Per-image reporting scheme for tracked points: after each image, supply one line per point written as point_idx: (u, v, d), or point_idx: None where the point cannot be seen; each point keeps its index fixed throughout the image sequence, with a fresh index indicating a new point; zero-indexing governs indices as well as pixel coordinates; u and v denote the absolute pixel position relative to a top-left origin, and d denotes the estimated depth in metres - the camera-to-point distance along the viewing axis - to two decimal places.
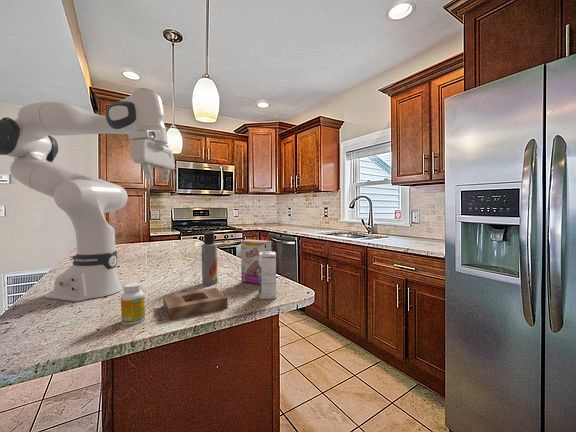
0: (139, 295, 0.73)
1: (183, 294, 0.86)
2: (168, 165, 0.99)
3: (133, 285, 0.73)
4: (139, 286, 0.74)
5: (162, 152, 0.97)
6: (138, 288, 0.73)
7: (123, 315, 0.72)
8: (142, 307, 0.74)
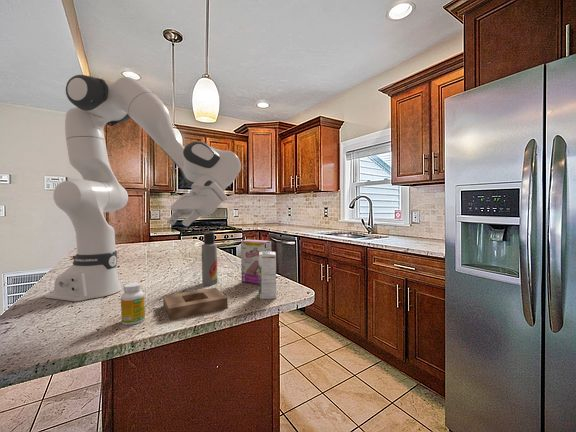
0: (139, 295, 0.73)
1: (183, 294, 0.86)
2: None
3: (133, 285, 0.73)
4: (139, 286, 0.74)
5: None
6: (138, 288, 0.73)
7: (123, 315, 0.72)
8: (142, 307, 0.74)
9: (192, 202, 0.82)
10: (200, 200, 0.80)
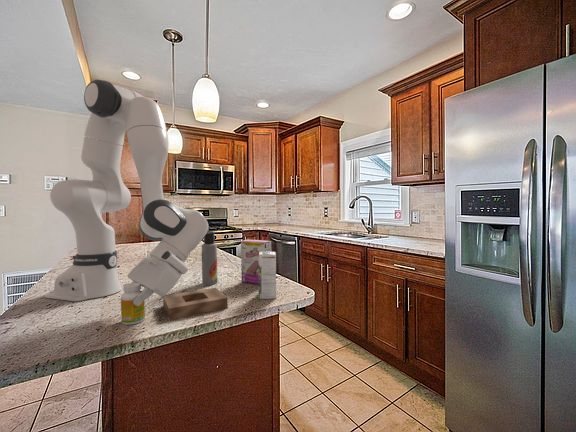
0: None
1: (183, 294, 0.86)
2: None
3: (133, 285, 0.73)
4: (139, 286, 0.74)
5: None
6: (138, 288, 0.73)
7: (123, 315, 0.72)
8: (142, 307, 0.74)
9: (148, 276, 0.74)
10: (155, 277, 0.72)
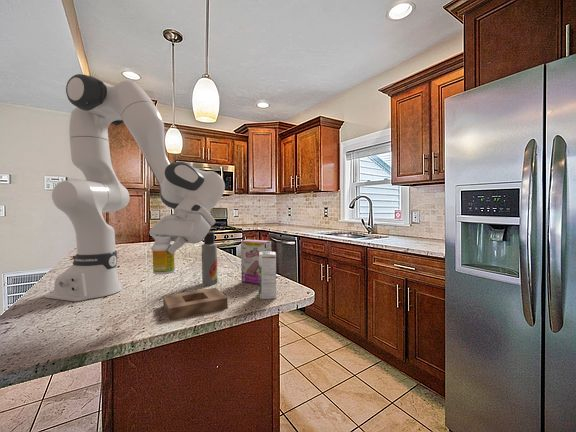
0: None
1: (183, 294, 0.86)
2: None
3: (164, 237, 0.76)
4: (170, 238, 0.77)
5: None
6: (169, 240, 0.77)
7: (156, 265, 0.74)
8: (173, 258, 0.77)
9: (179, 228, 0.78)
10: (188, 226, 0.76)
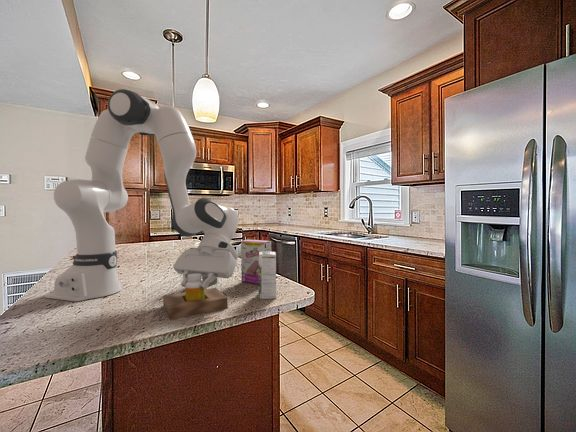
0: None
1: (183, 294, 0.86)
2: None
3: (197, 275, 0.83)
4: (201, 275, 0.84)
5: None
6: (201, 277, 0.84)
7: None
8: (204, 293, 0.84)
9: (208, 264, 0.85)
10: (218, 263, 0.84)
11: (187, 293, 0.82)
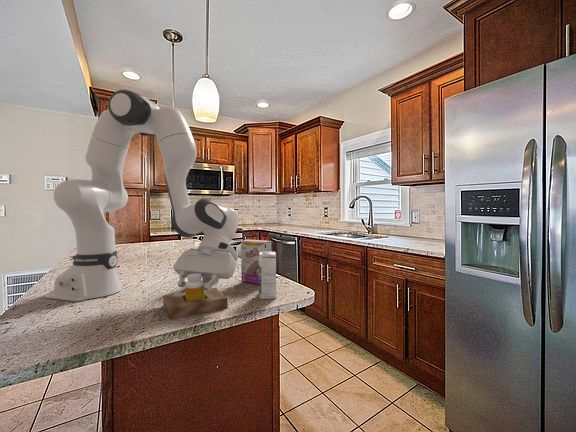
0: (203, 282, 0.84)
1: (183, 294, 0.86)
2: None
3: (197, 275, 0.83)
4: (201, 275, 0.84)
5: None
6: (201, 277, 0.84)
7: None
8: (204, 293, 0.84)
9: (208, 265, 0.85)
10: (218, 264, 0.84)
11: (187, 293, 0.82)
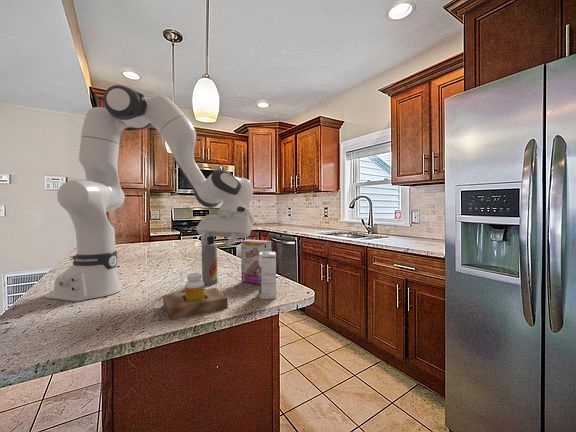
0: (203, 282, 0.84)
1: (183, 294, 0.86)
2: None
3: (197, 275, 0.83)
4: (201, 275, 0.84)
5: None
6: (201, 277, 0.84)
7: None
8: (204, 293, 0.84)
9: (227, 225, 0.96)
10: (237, 224, 0.95)
11: (187, 293, 0.81)
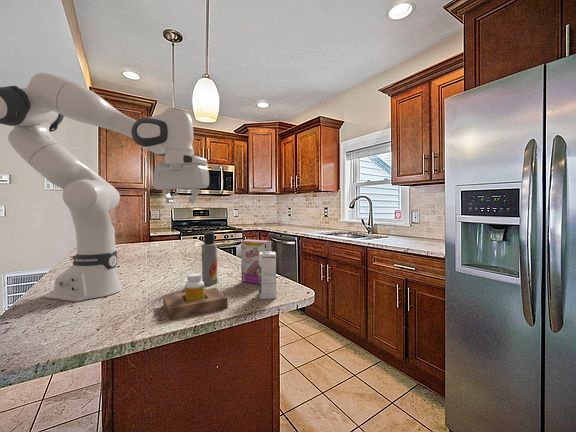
0: (203, 282, 0.84)
1: (183, 294, 0.86)
2: None
3: (197, 275, 0.83)
4: (201, 275, 0.84)
5: None
6: (201, 277, 0.84)
7: None
8: (204, 293, 0.84)
9: (183, 180, 0.89)
10: (192, 178, 0.88)
11: (187, 293, 0.82)
